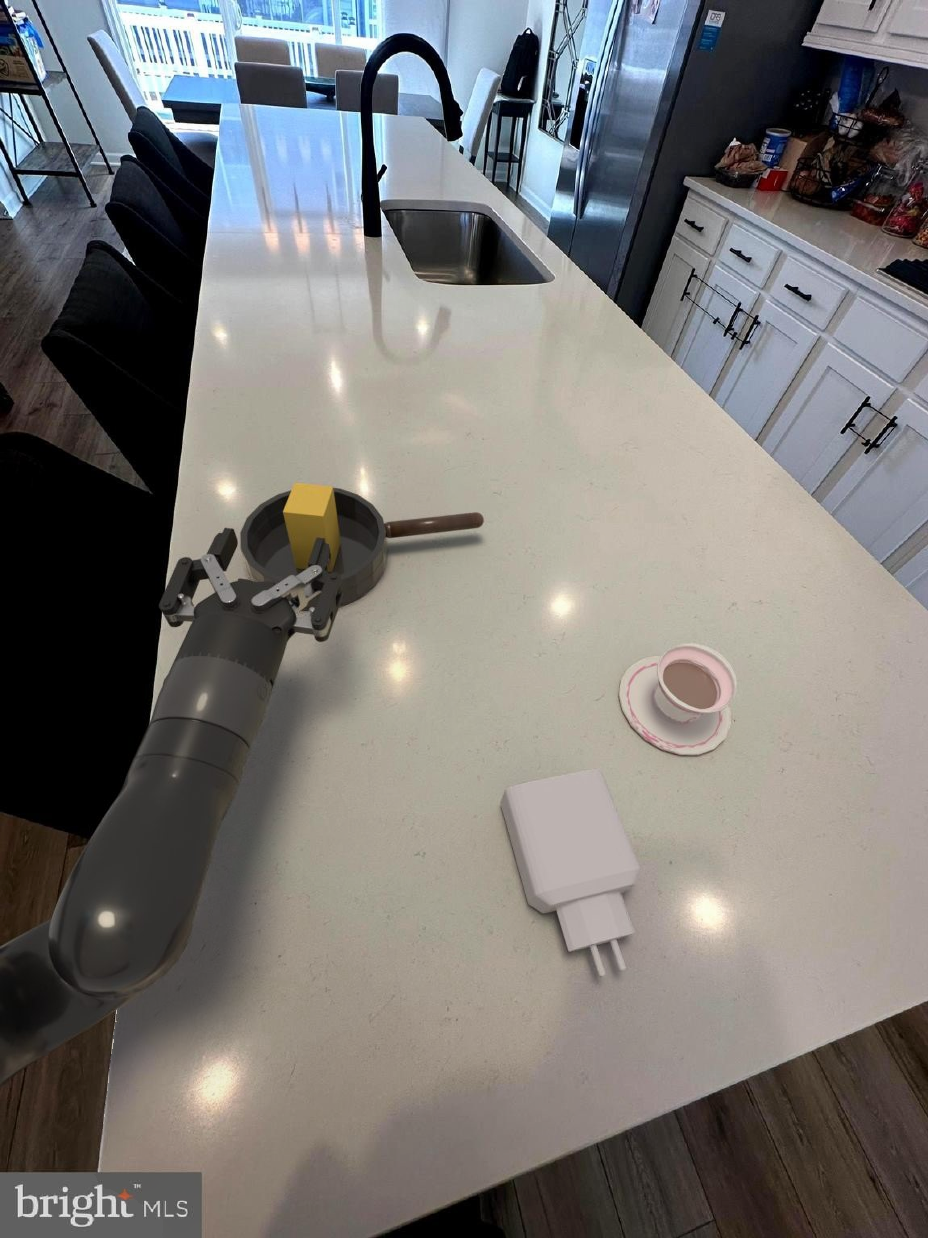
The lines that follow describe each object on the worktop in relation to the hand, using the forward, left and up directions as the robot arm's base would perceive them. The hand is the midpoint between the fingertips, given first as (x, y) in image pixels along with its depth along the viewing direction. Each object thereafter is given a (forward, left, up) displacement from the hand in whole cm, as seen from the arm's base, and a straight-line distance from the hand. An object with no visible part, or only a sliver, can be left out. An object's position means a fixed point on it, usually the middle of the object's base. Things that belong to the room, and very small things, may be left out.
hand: (277, 539), depth 53 cm
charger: (+21, -33, -13) cm, 41 cm away
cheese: (+3, +9, -12) cm, 16 cm away
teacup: (+38, -19, -13) cm, 44 cm away
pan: (+3, +9, -13) cm, 16 cm away
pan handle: (+18, +9, -10) cm, 22 cm away
